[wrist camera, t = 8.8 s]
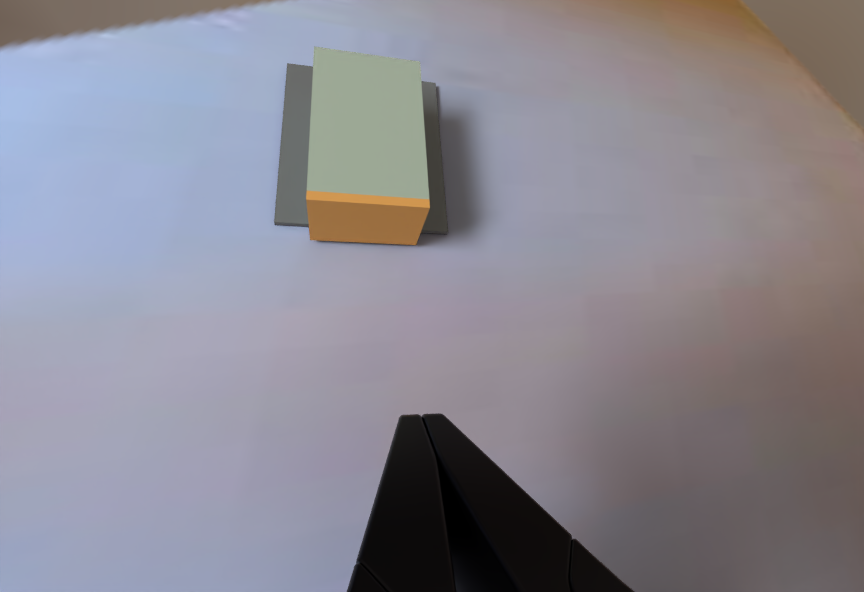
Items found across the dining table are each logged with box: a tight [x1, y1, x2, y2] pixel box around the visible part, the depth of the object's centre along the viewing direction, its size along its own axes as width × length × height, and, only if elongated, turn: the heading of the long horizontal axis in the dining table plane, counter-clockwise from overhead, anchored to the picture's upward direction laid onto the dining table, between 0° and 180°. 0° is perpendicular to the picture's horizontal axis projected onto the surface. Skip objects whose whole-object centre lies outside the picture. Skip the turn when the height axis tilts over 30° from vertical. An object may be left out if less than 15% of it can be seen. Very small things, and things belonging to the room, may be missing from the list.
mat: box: [274, 63, 448, 234], centre depth 27 cm, size 12×10×1 cm
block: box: [306, 47, 430, 245], centre depth 24 cm, size 4×6×10 cm
